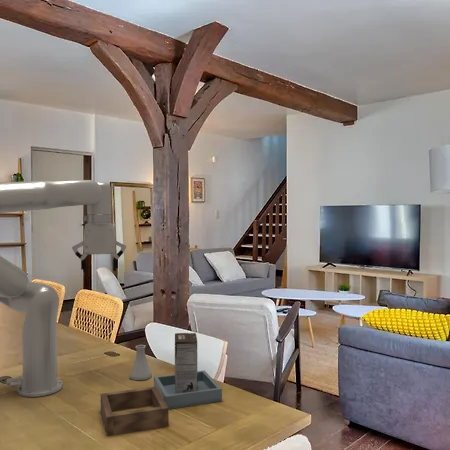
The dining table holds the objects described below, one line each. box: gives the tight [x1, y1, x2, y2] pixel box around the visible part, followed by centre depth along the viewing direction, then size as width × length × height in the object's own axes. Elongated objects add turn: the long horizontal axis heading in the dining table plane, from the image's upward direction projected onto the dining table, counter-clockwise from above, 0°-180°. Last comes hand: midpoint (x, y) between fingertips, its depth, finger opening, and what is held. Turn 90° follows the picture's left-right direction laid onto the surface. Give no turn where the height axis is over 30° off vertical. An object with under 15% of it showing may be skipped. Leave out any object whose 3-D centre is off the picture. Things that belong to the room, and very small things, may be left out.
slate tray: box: [153, 369, 223, 410], centre depth 137 cm, size 16×16×4 cm
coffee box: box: [174, 332, 198, 394], centre depth 137 cm, size 9×6×16 cm
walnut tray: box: [100, 386, 170, 437], centre depth 122 cm, size 15×15×4 cm
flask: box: [129, 344, 153, 381], centre depth 151 cm, size 7×7×10 cm
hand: (99, 271), depth 157 cm, fingers open, 9 cm apart
